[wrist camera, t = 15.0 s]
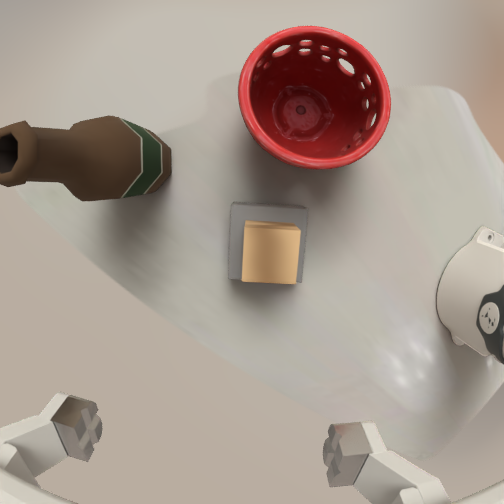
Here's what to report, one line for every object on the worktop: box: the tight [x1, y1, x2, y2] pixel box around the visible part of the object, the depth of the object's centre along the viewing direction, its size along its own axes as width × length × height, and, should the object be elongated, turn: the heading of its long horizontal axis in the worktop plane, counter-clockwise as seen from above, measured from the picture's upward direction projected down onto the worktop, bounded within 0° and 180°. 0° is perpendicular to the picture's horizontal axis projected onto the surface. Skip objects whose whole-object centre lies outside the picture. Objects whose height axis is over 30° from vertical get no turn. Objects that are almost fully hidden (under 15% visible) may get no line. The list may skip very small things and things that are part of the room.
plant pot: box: [238, 26, 391, 169], centre depth 28 cm, size 13×13×12 cm
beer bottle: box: [0, 116, 171, 201], centre depth 24 cm, size 8×8×24 cm
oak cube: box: [242, 220, 301, 284], centre depth 31 cm, size 5×5×5 cm
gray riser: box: [228, 202, 308, 283], centre depth 35 cm, size 8×8×4 cm
